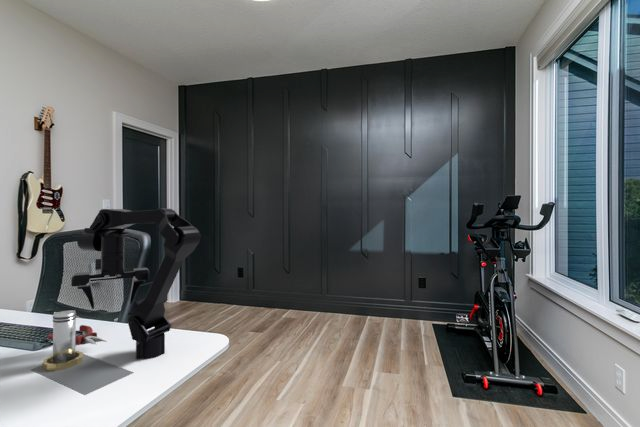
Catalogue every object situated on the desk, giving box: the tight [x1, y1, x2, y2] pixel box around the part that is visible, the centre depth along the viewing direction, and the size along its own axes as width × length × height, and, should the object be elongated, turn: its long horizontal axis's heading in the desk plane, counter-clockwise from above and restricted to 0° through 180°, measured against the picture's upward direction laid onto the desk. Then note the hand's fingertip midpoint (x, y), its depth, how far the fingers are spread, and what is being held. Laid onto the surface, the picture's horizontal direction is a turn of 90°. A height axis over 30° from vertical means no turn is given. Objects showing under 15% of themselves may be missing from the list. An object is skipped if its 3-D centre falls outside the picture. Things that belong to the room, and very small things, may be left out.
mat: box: [30, 353, 135, 396], centre depth 80 cm, size 24×11×1 cm, turn 63°
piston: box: [52, 309, 77, 364], centre depth 84 cm, size 5×5×13 cm
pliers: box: [46, 324, 107, 346], centre depth 101 cm, size 12×20×3 cm, turn 65°
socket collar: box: [42, 350, 84, 371], centre depth 84 cm, size 8×8×2 cm
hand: (112, 305), depth 94 cm, fingers open, 9 cm apart
